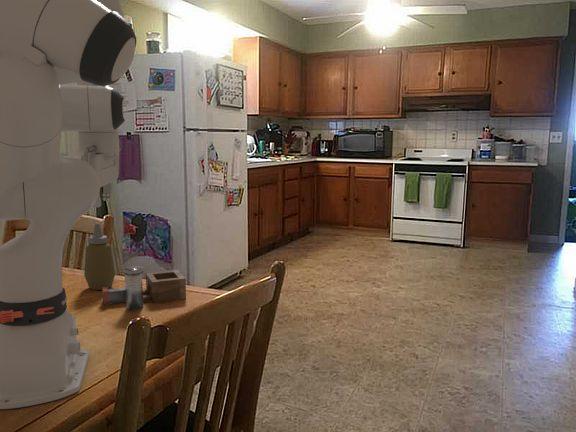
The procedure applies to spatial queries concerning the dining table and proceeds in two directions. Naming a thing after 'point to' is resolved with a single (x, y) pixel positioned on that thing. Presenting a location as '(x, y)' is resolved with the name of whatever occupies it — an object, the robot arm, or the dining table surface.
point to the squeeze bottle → (99, 261)
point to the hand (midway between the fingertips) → (102, 203)
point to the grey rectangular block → (113, 295)
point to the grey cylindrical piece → (134, 287)
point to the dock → (164, 286)
